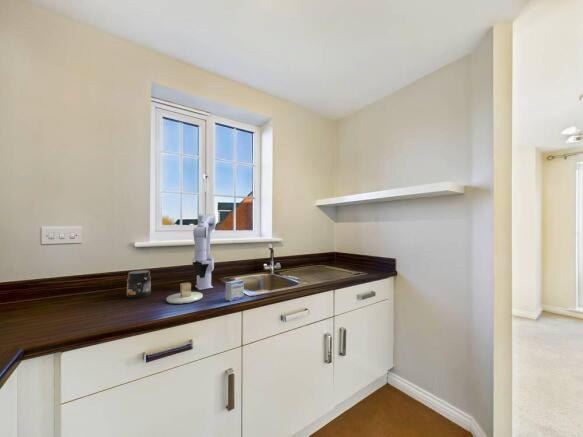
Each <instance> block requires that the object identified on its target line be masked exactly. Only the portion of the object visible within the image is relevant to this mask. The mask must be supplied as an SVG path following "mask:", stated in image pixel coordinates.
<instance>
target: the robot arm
mask: <svg viewBox="0 0 583 437" xmlns="http://www.w3.org/2000/svg"><path fill="white" fill-rule="evenodd" d="M216 221H217V216H216V214H215V213H214V214H211V213H210V214H209V213H208V214H207V213H205V214H201V213H200V214H198V217H197V222H198V223H197V226H195V227H194V228H193V230H192V231H193V232H192V234H193V241H194V258H192V259H191V261H192V262H191V263H192V265H193V268H194V272H195V275H196V285H195V288H196V289H197V290H198V291H199V290H205V289H213V288H214V286H213V285H212V272H213V271H214V268H215V260H214V259H215V258H214V257H213V256H212V255H210V251H211V239H212V238H211V237H212V231H213V230H215V229H216V223H217V222H216Z"/></svg>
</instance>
